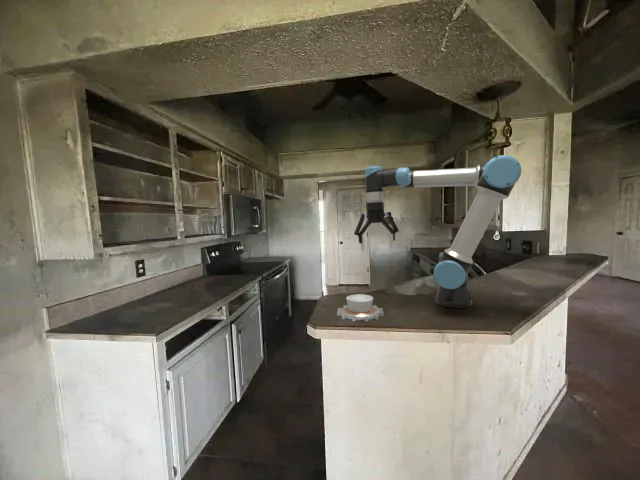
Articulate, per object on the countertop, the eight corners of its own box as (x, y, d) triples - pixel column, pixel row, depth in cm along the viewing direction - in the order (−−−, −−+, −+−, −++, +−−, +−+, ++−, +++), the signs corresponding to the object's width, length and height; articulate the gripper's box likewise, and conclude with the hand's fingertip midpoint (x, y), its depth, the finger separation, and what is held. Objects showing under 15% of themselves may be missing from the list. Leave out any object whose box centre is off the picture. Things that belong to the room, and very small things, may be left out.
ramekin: (373, 314, 126) (373, 301, 125) (345, 313, 128) (344, 301, 127) (373, 306, 137) (373, 294, 136) (347, 305, 139) (347, 294, 138)
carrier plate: (375, 305, 143) (375, 301, 143) (390, 319, 124) (390, 315, 124) (333, 308, 141) (333, 305, 141) (342, 323, 122) (341, 319, 122)
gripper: (397, 201, 147) (399, 246, 148) (345, 204, 142) (348, 250, 144) (404, 199, 139) (407, 247, 141) (350, 203, 135) (353, 252, 136)
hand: (377, 249), depth 142 cm, fingers open, 13 cm apart
